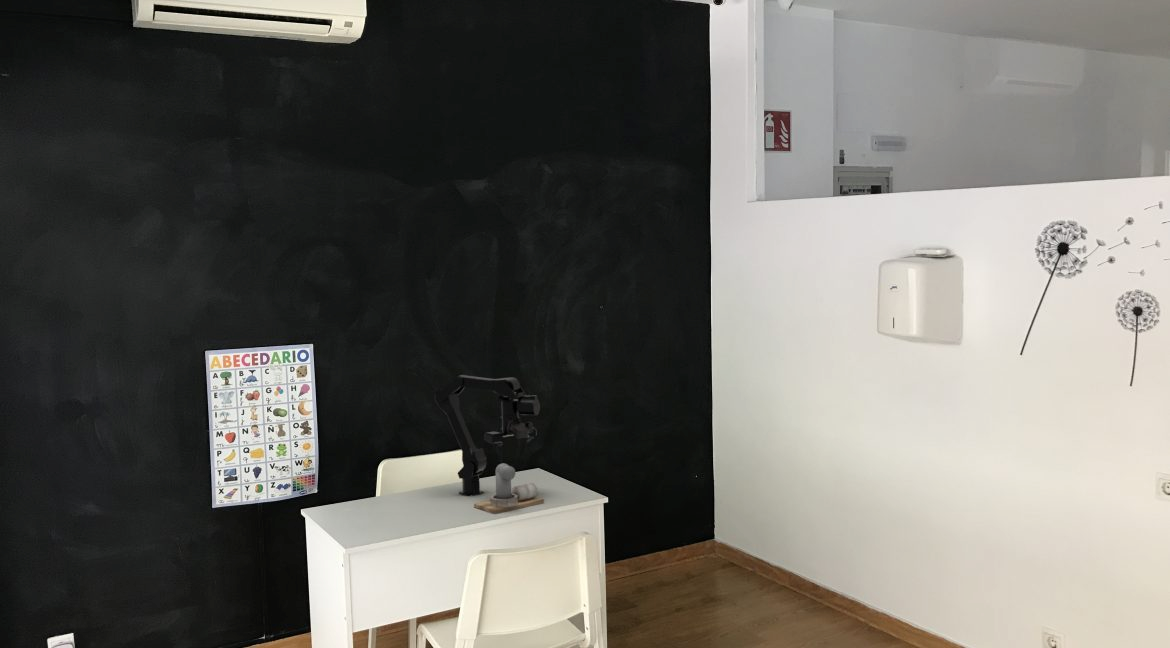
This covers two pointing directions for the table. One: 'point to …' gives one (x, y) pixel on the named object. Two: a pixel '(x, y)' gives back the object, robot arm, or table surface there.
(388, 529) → the table surface
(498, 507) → the board
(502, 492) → the elbow
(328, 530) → the table surface
